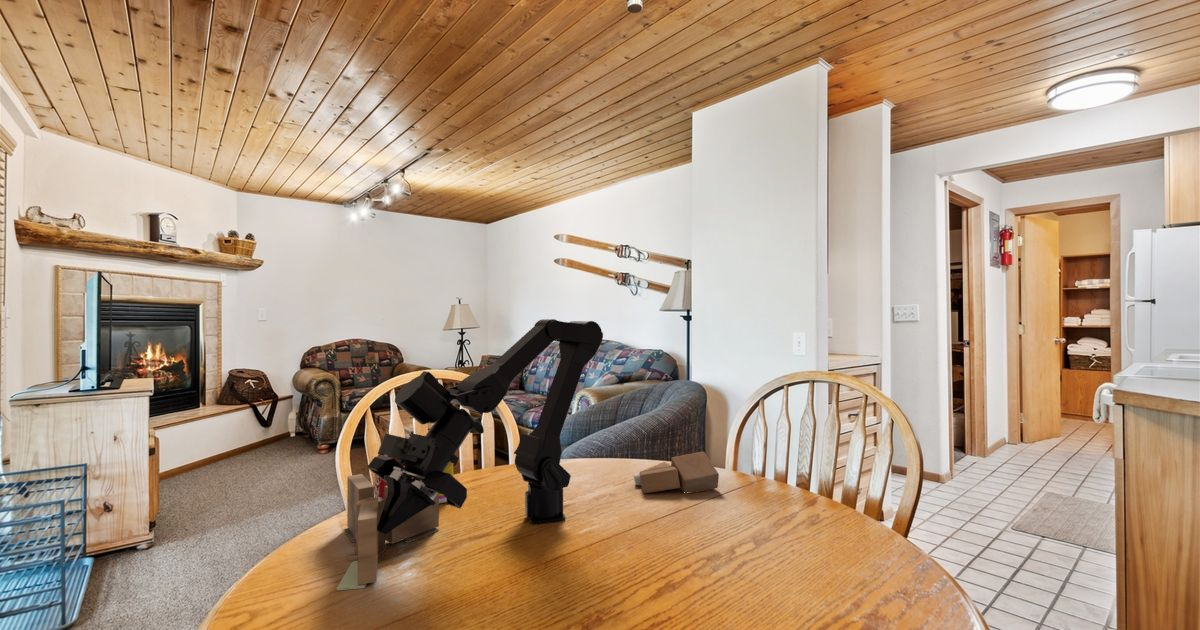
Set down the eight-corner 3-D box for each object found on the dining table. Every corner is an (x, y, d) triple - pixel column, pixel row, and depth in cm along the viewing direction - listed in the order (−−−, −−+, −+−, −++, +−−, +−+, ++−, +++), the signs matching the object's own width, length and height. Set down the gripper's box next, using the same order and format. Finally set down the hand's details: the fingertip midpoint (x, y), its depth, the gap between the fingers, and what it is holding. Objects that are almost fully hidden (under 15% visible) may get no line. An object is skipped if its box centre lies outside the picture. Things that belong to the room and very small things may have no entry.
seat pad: (352, 563, 79) (352, 561, 79) (377, 561, 79) (377, 559, 79) (336, 590, 71) (336, 588, 71) (364, 587, 72) (364, 585, 72)
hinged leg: (361, 556, 80) (361, 498, 80) (378, 553, 81) (378, 496, 81) (357, 584, 71) (357, 520, 72) (376, 581, 72) (376, 517, 72)
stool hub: (439, 517, 97) (439, 467, 97) (438, 548, 84) (438, 490, 84) (345, 527, 93) (345, 475, 93) (329, 562, 79) (329, 500, 79)
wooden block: (634, 491, 121) (709, 479, 122) (640, 504, 108) (723, 490, 109) (629, 459, 122) (703, 447, 123) (634, 468, 109) (716, 454, 110)
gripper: (378, 406, 85) (309, 492, 76) (450, 419, 74) (380, 521, 65) (419, 443, 91) (360, 526, 82) (492, 460, 80) (433, 558, 71)
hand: (380, 532), depth 75 cm, fingers closed
